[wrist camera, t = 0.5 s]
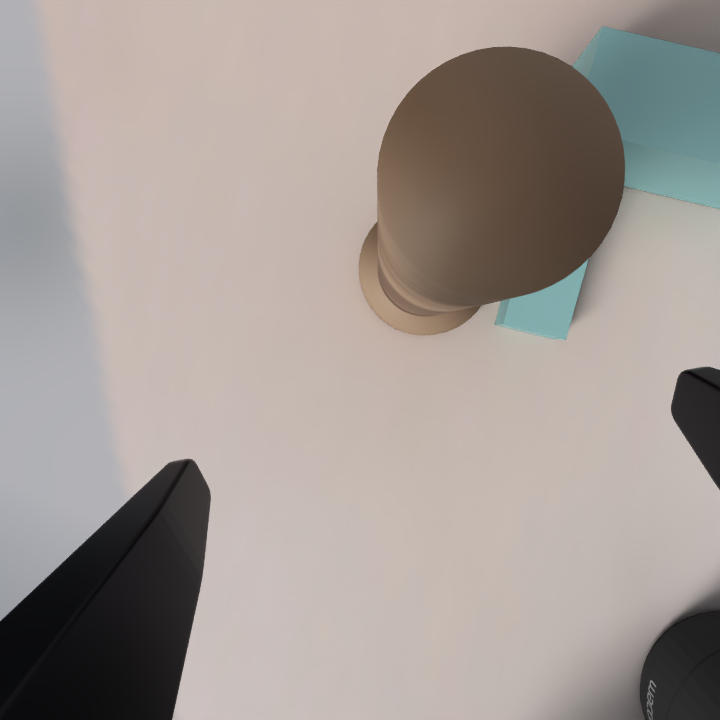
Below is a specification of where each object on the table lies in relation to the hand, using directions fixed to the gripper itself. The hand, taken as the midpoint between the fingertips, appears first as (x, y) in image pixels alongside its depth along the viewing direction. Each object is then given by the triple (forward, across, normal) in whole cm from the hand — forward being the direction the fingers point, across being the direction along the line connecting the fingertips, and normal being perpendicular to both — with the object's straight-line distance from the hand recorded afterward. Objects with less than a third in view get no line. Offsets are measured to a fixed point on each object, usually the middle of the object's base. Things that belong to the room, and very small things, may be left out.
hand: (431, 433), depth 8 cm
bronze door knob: (+15, -2, +3) cm, 15 cm away
